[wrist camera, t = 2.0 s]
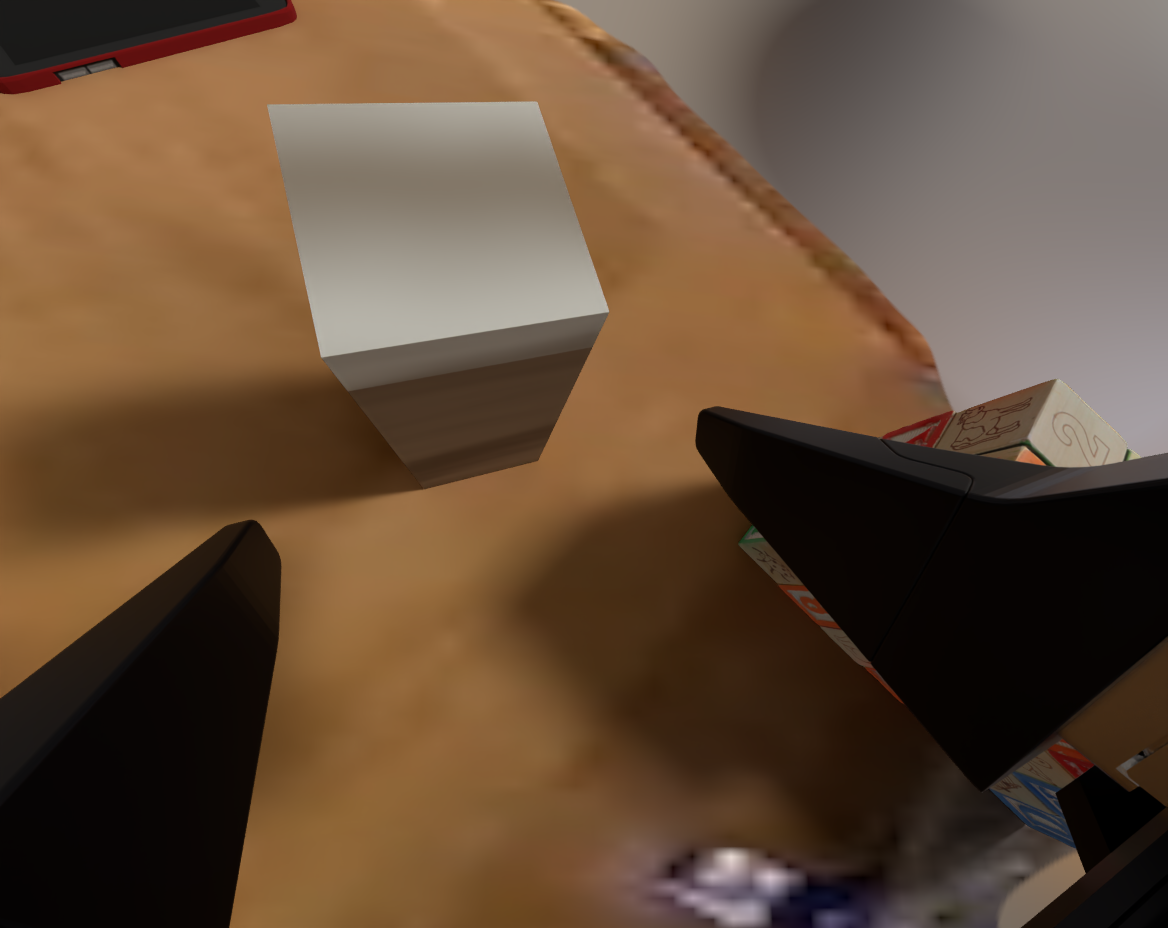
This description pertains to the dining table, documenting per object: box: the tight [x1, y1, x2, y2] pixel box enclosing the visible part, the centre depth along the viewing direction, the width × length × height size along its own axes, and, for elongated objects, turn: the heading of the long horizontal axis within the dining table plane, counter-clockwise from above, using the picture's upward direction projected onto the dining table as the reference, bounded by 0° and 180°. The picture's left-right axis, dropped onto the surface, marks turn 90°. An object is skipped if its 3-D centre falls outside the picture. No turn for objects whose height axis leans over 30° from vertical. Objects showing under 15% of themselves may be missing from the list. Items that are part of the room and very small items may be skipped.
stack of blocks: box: [738, 379, 1141, 848], centre depth 18 cm, size 21×6×12 cm, turn 47°
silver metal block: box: [267, 102, 609, 489], centre depth 15 cm, size 6×6×13 cm
